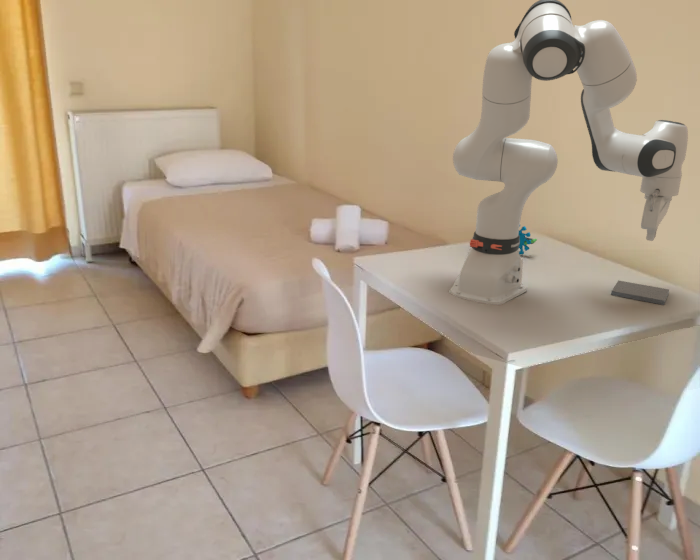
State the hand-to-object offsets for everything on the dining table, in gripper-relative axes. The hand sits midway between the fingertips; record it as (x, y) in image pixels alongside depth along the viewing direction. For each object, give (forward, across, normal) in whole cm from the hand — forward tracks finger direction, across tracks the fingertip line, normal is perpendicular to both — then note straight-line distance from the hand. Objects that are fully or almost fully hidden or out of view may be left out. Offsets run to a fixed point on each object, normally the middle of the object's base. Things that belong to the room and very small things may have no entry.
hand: (650, 239), depth 172 cm
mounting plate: (+15, 0, 0) cm, 15 cm away
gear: (+16, +17, +38) cm, 45 cm away
